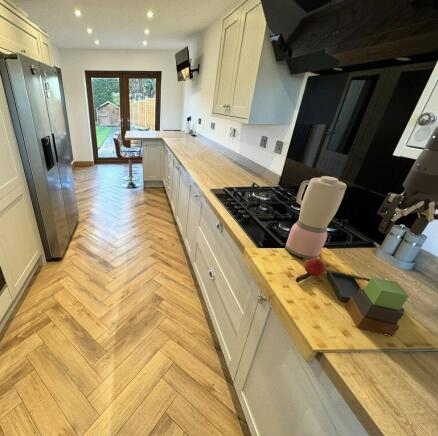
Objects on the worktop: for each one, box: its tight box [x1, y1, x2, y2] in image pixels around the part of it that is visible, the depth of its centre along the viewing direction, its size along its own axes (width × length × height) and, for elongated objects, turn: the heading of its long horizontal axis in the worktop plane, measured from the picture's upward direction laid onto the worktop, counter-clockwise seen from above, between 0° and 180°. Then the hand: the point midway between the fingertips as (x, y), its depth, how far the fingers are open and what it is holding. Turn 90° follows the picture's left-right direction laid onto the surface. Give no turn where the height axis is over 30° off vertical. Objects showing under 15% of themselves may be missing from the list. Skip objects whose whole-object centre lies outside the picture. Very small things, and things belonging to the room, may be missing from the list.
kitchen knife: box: [295, 266, 327, 283], centre depth 84 cm, size 18×1×2 cm, turn 117°
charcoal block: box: [354, 288, 405, 324], centre depth 65 cm, size 7×7×4 cm
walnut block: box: [345, 297, 401, 337], centre depth 66 cm, size 8×8×4 cm
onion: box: [304, 256, 326, 277], centre depth 83 cm, size 6×6×8 cm
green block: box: [364, 276, 410, 310], centre depth 63 cm, size 6×6×5 cm
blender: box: [284, 175, 348, 261], centre depth 92 cm, size 16×12×32 cm
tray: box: [325, 269, 405, 312], centre depth 77 cm, size 16×14×2 cm
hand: (398, 232), depth 61 cm, fingers open, 8 cm apart
